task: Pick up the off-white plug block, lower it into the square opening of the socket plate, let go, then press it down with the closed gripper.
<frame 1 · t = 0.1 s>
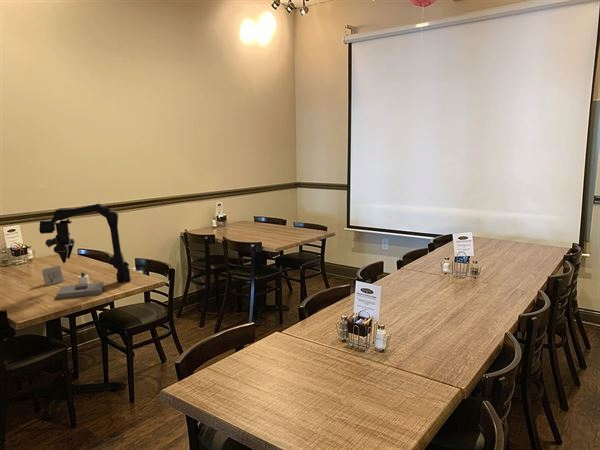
hand: (66, 260, 242), 14 cm above the table, tool pointing down, fingers open, 9 cm apart
electrical switch: (53, 283, 251), on the table
plug: (84, 287, 243), on the table
socket plate: (81, 292, 234), on the table
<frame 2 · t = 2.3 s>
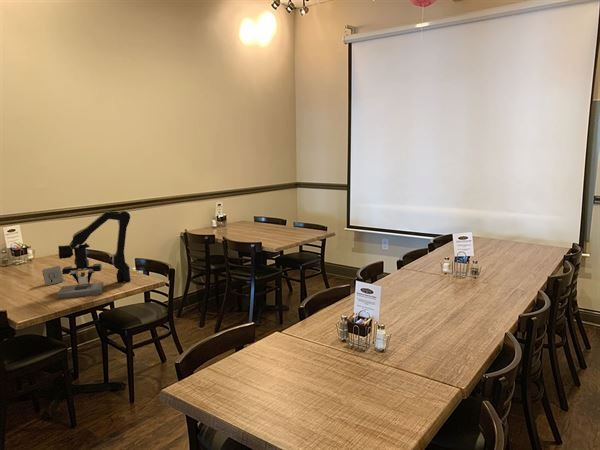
hand: (84, 284, 243), 2 cm above the table, tool pointing down, fingers closed on plug, 4 cm apart
plug: (84, 287, 243), on the table, touching gripper
everything else where it was.
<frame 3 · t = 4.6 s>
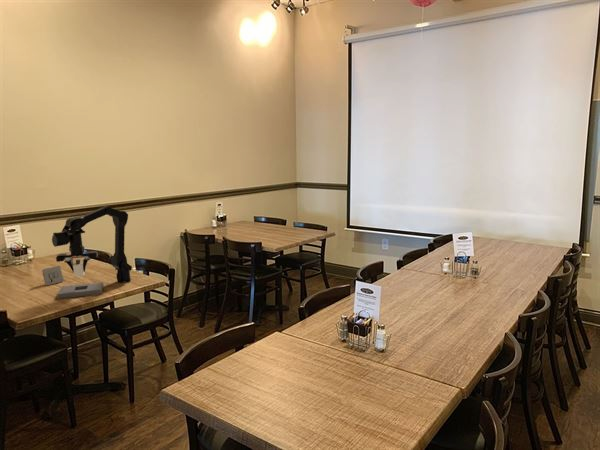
hand: (79, 272, 232), 11 cm above the table, tool pointing down, fingers closed on plug, 4 cm apart
plug: (79, 275, 232), point 9 cm above the table, touching gripper
everything else where it was.
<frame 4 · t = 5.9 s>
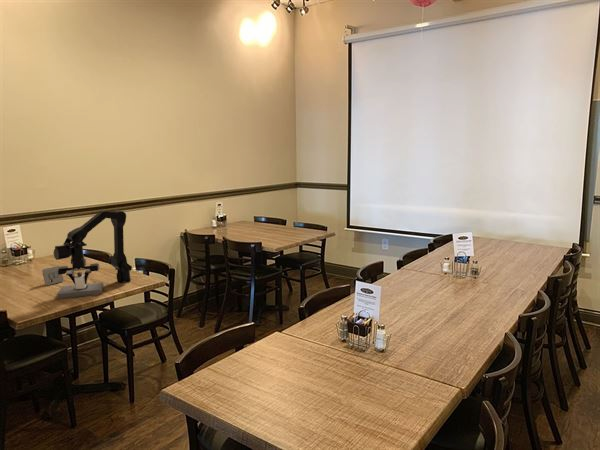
hand: (80, 284, 233), 4 cm above the table, tool pointing down, fingers closed on plug, 4 cm apart
plug: (81, 287, 234), point 3 cm above the table, touching gripper
everything else where it was.
when the fingers open (3 cm above the table, at t = 7.0 s): plug stays where it is, resting on socket plate.
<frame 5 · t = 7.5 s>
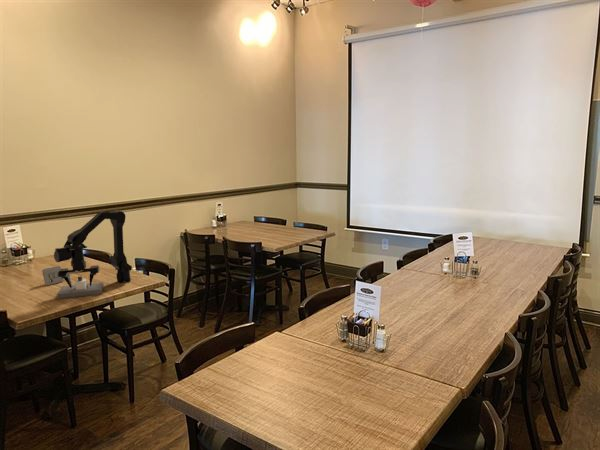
hand: (81, 287, 234), 3 cm above the table, tool pointing down, fingers open, 9 cm apart
plug: (81, 291, 234), resting on socket plate
everything else where it was.
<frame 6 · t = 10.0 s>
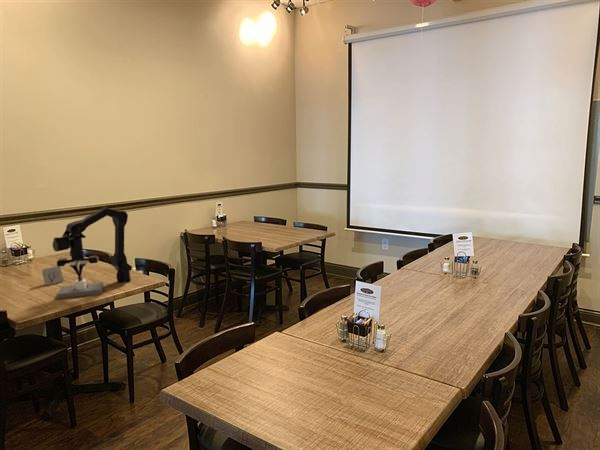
hand: (79, 276, 233), 8 cm above the table, tool pointing down, fingers closed, pressing on plug
plug: (81, 291, 234), resting on socket plate, touching gripper
everything else where it was.
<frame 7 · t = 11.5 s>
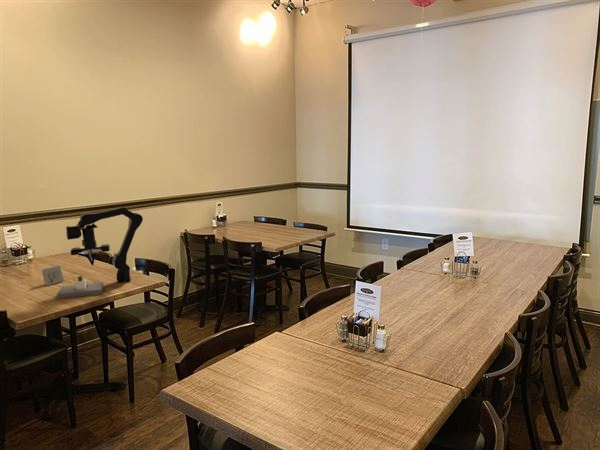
hand: (92, 265, 242), 12 cm above the table, tool pointing down, fingers closed
plug: (81, 291, 234), resting on socket plate
everything else where it was.
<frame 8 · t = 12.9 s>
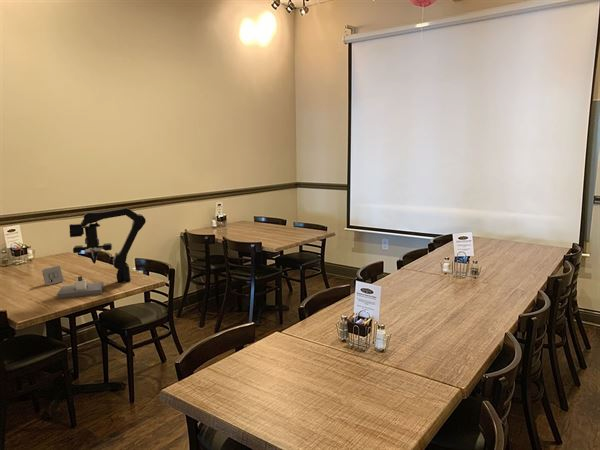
hand: (94, 263, 244), 12 cm above the table, tool pointing down, fingers closed
nothing on the table moved.
at the end: plug 0.0 cm off-centre on the socket plate, point 0.5 cm above the socket plate's base; plug tilted 0°; the gripper is holding nothing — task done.
